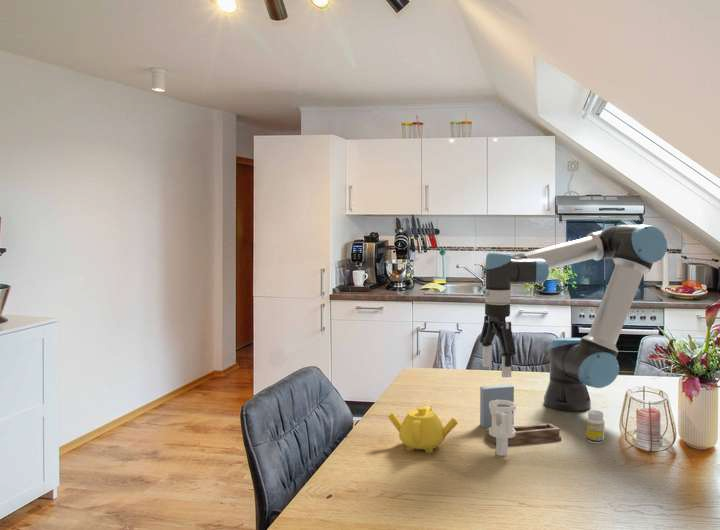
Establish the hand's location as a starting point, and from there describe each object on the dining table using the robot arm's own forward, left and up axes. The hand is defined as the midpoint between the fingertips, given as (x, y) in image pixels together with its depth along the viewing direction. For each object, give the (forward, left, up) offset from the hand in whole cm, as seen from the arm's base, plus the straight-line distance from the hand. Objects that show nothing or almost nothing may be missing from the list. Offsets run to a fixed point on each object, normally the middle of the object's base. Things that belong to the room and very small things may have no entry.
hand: (496, 371), depth 190 cm
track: (-2, +13, -17) cm, 21 cm away
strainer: (+9, +22, -17) cm, 29 cm away
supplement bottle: (-21, +20, -17) cm, 34 cm away
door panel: (0, 0, -17) cm, 17 cm away
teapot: (+28, +12, -17) cm, 35 cm away
